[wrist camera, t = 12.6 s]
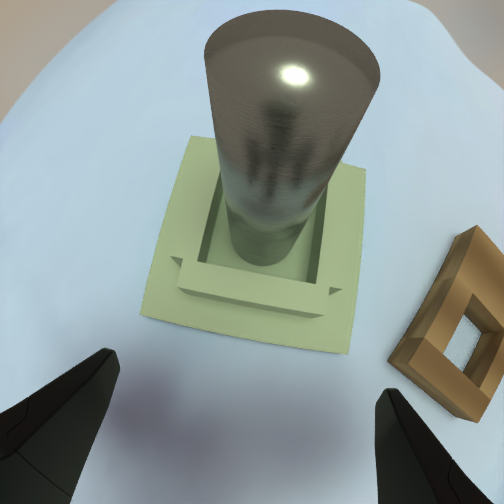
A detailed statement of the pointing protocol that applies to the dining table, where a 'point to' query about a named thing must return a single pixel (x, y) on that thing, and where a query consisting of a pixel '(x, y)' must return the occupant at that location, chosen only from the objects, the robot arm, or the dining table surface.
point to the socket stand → (257, 277)
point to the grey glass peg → (282, 120)
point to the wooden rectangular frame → (446, 321)
